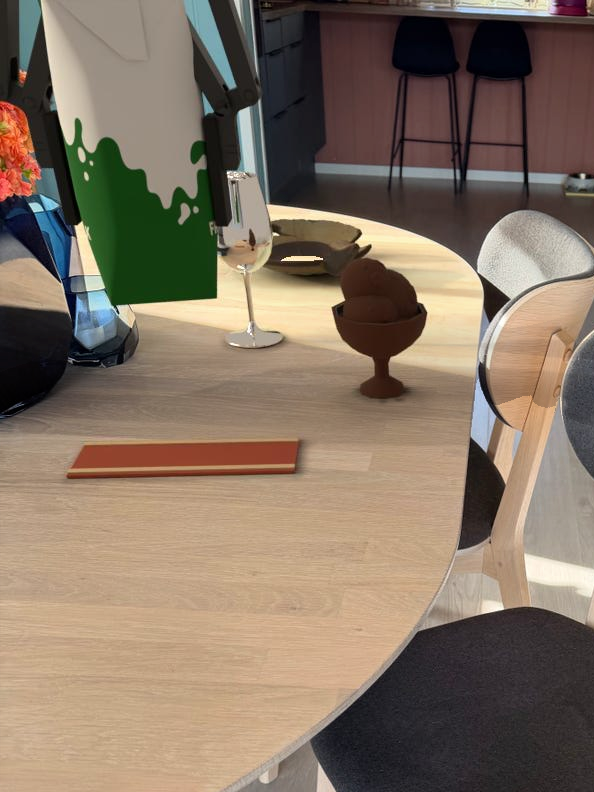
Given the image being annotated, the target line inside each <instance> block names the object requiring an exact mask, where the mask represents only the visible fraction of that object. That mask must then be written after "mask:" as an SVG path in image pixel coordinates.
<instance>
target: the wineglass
mask: <svg viewBox="0 0 594 792" xmlns="http://www.w3.org/2000/svg"><path fill="white" fill-rule="evenodd" d="M227 176H228V184H229V192H230V200H231V208H232V216H233V218H232V220H231V222H230V223H229V225H228V227H218V260H219V261H220V262H221V263H222V264H224V265H225V266H226V267H227V268H228V269H229V270H232V271H234V272H237V273H239V274H240V275H241V277H242V280H243V281H242V282H243V284H244V289H245V290H244V291H245V296H246V304H247V313H248V326H247V328H243V329H236V330H234V331H231V332H229V333H228V334H227V335H226V336H225V338H224V341H225V342H226V343H227V344H228V345H229V346H230V345H231V346H233V347H237V348H244V349H257V348H266V347H270V346H273V345H276V344H279V342H281V341H282V340H283V337H284V336H283V334H282V332H281V331H278V330H276V329H273V328H266V327H259V326H258V324H257V322H256V320H255V319H256V318H255V310H254V303H253V296H252V274H253V273H255V272H257V271H258V270H259V269H261V268H262V267H263V265H264V264H265V263H266V262H267V261H268V259H269V257H270V255H271V253H272V249H273V236H274V233H273V231H272V226H271V221H272V220H271V217H270V212H269V209H268V206H267V202H266V199H265V196H264V192H263V189H262V186H261V183H260V180H259V176H258V174H256V173H254V172H249V171H227Z"/></svg>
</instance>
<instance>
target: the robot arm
mask: <svg viewBox="0 0 594 792" xmlns="http://www.w3.org/2000/svg"><path fill="white" fill-rule="evenodd" d="M207 2H208V4H209V8H210V12H211V13H212V17H213V21H214V23H215V26H216V29H217V32H218V35H219V38H220V41H221V45H222V47H223V50H224V53H225V56H226V59H227V62H228V67H229V69H230V71H231V76H232V78H233V81H234V84H235V87H232V88H230V87H229V85H228V84H227V82H226V80H225V78H224V77H223V75H222V73H221V71H220V69H219V68H218V66H217V64H216V63H215V61H214V59H213V58H212V56H211V54H210V52H209V50H208V48H207V47H206V45H205V44H204V42H203V40H202V38H201V37H200V35H199V33H198V31H197V30H196V28H195V26H194V24H193V23H192V21H191V19H190V17H189V15H188V13H186V15H187V19H188V24H189V28H190V32H191V37H192V43H193V68H194V79H195V80H196V82H197V84H198V85H199V87H200V89H201V90H202V95H203V97H205V99H206V101H207V102H208V105H209V106H210V107H211V109H212V112H207V113H206V114H205V117H204V118H202V120H203V128H204V135H205V143H206V150H207V158H208V166H209V173H210V181H211V188H212V196H213V203H214V211H215V218H216V226H217V227H228V225H229V223H230V222H231V220H232V218H233V216H232V208H231V200H230V192H229V184H228V176H227V172H238V170H239V168H240V166H241V162H242V153H241V144H240V136H239V126H238V114H239V112H240V111H243V110H245V109H248V108H249V107H253V106H256V104H257V103H258V102H259V101H260V100H261V98H262V96H263V88H262V85H261V82H260V79H259V75H258V72H257V68H256V66H255V63H254V59H253V57H252V53H251V49H250V47H249V44H248V39H247V38H246V34H245V31H244V28H243V24H242V22H241V19H240V15H239V11H238V9H237V5H236V3H235V0H207ZM20 49H21V48H20V0H0V102H4V103H6V104H9V105H12V106H14V107H17V108H18V109H19V110H20V111H22V113H23V114H24V116H25V118H26V121H27V127H28V130H29V135H30V139H31V143H32V147H33V152H34V156H35V160H36V162H37V164H38V165H39V167H40V169H52V170H53V174H54V178H55V183H56V188H57V192H58V196H59V201H60V206H61V210H62V214H63V215H62V216H63V218H64V219H63V220H64V223H65V226H71V227H72V226H74V227H76V226H77V227H78V226H79V225H80V224H81V223H83V222H82V219H81V214H80V210H79V207H78V203H77V200H76V196H75V191H74V186H73V182H72V177H71V172H70V168H69V163H68V158H67V154H66V149H65V144H64V139H63V135H62V130H61V125H60V120H59V116H58V111H57V109H52V108H51V107H52V106H53V105H54V103H55V102H54V100H53V96H54V92H53V85H52V78H51V72H50V66H49V60H48V52H47V45H46V37H45V29H44V26H43V22H42V16H41V14H40V16H39V21H38V24H37V28H36V33H35V36H34V41H33V45H32V48H31V52H30V57H29V61H28V65H27V69H26V73H25V78H24V81H21V68H20V67H21V61H20V60H21V59H20V55H21V54H20V52H21V51H20Z"/></svg>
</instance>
